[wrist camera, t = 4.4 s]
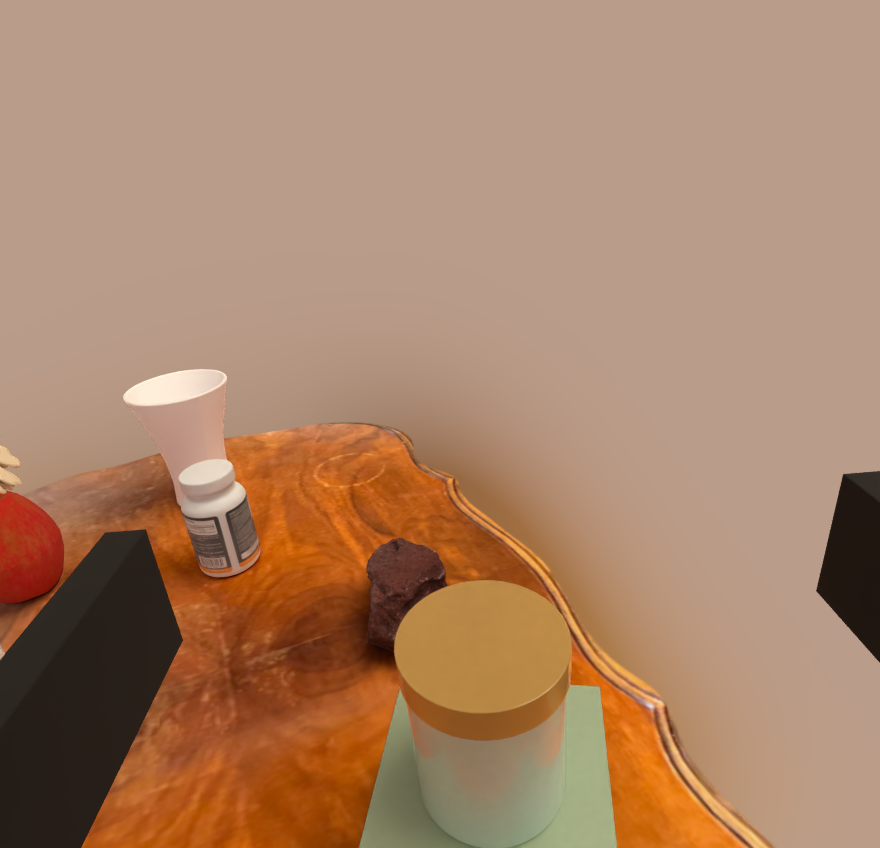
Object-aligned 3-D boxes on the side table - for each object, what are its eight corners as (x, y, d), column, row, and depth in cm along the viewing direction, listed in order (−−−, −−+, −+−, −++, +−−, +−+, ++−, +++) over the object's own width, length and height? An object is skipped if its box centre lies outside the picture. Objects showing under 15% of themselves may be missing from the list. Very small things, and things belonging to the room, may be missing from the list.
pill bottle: (247, 536, 61) (224, 449, 57) (271, 560, 57) (249, 469, 53) (191, 561, 58) (163, 471, 54) (213, 589, 54) (184, 494, 50)
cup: (226, 463, 77) (199, 363, 71) (270, 488, 70) (244, 379, 64) (143, 499, 70) (107, 391, 65) (183, 531, 63) (146, 413, 58)
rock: (419, 589, 56) (335, 614, 52) (412, 524, 55) (326, 545, 51) (476, 639, 46) (378, 672, 43) (470, 561, 45) (368, 589, 42)
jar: (574, 864, 25) (576, 720, 21) (399, 845, 26) (374, 705, 23) (567, 712, 31) (568, 582, 28) (428, 702, 33) (412, 577, 29)
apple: (-46, 611, 54) (-100, 510, 50) (38, 556, 61) (-3, 463, 57) (16, 629, 51) (-35, 524, 47) (97, 569, 58) (58, 473, 54)
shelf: (618, 1012, 26) (625, 920, 23) (370, 975, 28) (347, 886, 25) (596, 771, 36) (600, 686, 33) (414, 756, 38) (402, 674, 35)
